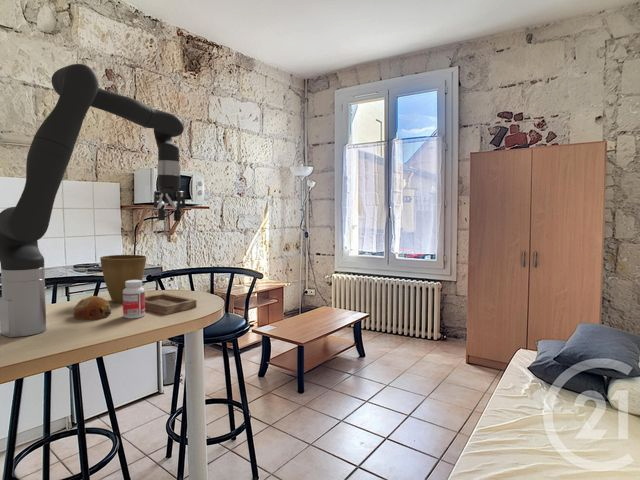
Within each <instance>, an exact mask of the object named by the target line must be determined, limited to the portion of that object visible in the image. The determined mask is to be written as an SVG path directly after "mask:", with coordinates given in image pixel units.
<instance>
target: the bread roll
mask: <svg viewBox="0 0 640 480" xmlns="http://www.w3.org/2000/svg"><path fill="white" fill-rule="evenodd" d="M112 310H113V309H112V305H111V304H110V302H109V301H108V300H106V299H105V298H104V297H101V296H98V295H91V296H88V297H85V298H82V299H81V300H79V301H78V302H77V304H76V305H75V306H74V308H73V317H74V318H75V319H76V320H84V321H93V320H101V319H104V318H108V317H109V316H110V315H111V314H112Z"/></svg>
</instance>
